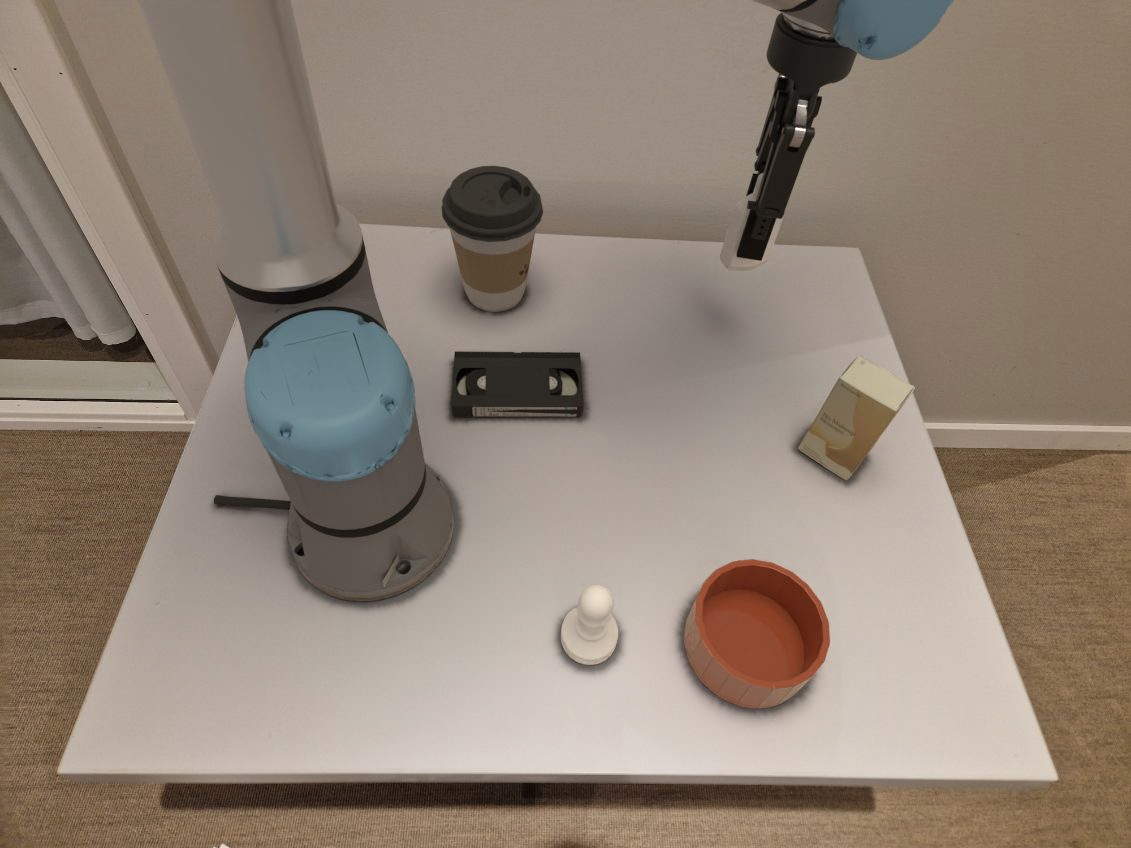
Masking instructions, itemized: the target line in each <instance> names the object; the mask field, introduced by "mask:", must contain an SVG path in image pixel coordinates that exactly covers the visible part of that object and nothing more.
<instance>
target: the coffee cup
mask: <svg viewBox="0 0 1131 848" xmlns="http://www.w3.org/2000/svg"><path fill="white" fill-rule="evenodd" d="M441 202H442V204H441V218H443V220H444V222H445V224H446V225H447V227H449V231H450V235H451V236H450V237H451V240H452V245H453V248H454V252H455V257H456V260H457V264H458V269H459V272H460V277H461V281H462V285H463V289H464V293H465V294H466V296H467V298H468V300H469V302H470V304H472V305H473V306H474V307H476V308H477V309H479V310H482V311H484V312H490V313H498V312H504V311H508V310H511V309H513V308H514V307H516V306H517V305H519V303H520V302H521V301H522V298H523V296H524V294H525V291H526V286H527V281H528V277H529V275H528V274H529V269H530V264H531V260H532V259H531V258H532V253H533V247H534V242H535V237H536V232H537V231H536V230H537V226H538V225H539V224H540V223H541V222H542V221H541V220H542V217H543V214H544V209H543V203H542V198H541V195H540V193H539V192H538V190H537V189H536V187H535V186H534V184H533V183H532V181H531V180H530V179H529V178H528V177H527V176H525V175H524V174H523V173H521V172H520V171H518V170H515V169H512V168H509V167H507V166H499V165H481V166H476V167H473V168H469V169H468V170H465V171H463V172H461V173H459V174H458V175H457V176H456V177H454V179H453V180H452V181H451V183H450V186H449V187H448V188H447V189H446V191H445V192H444V195H443V197H442V200H441Z"/></svg>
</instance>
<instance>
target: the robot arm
mask: <svg viewBox="0 0 1131 848" xmlns="http://www.w3.org/2000/svg"><path fill="white" fill-rule="evenodd" d="M137 1H138V4H139V6H140V10H141V12H142V15H143V17H144V19H145V23H146V25H147V28H148V30H149V34H150V35H151V38H152V41H153V43H154V46H155V49H156V51H157V54H158V57H159V60H160V62H161V64H162V67H163V70H164V73H165V75H166V78H167V80H168V83H169V86H170V88H171V91H172V94H173V96H174V99H175V102H176V105H177V107H178V110H179V112H180V115H181V117H182V120H183V123H184V125H185V128H186V130H187V133H188V136H189V139H190V142H191V144H192V146H193V149H194V152H195V154H196V157H197V159H198V162H199V164H200V167H201V170H202V174H203V175H204V178H205V180H206V183H207V185H208V189H209V192H210V193H211V194H210V195H211V196H212V200H213V202H214V205H215V208H216V209H217V212H218V215H219V217H220V220H221V223H222V226H221V227H220V229H219V231H218V232H217V234H216V236H215V238H214V241H213V245H212V255H213V258H214V262H215V264H216V267H217V269H218V272H219V274H220V277H221V280H222V281H223V284H224V286H225V289H226V291H227V295H228V297H229V299H230V301H231V304H232V306H233V308H234V311H235V313H236V317H237V319H238V323H239V326H240V330H241V333H242V338H243V343H244V347H245V352H246V358H247V365H246V369H245V374H244V381H243V382H244V383H243V387H244V396H245V404H246V410H247V415H248V419H249V422H250V424H251V428H252V429H253V431H254V433H255V435H256V436H257V437H258V439H259V441H260V443H261V445H262V447H263V448H264V449H265V450H266V452H267V454H268V457H269V458H270V461H271V463H272V465H273V467H274V469H275V471H276V473H277V476H278V478H279V480H280V481H281V484H282V486H283V489H284V490H285V492H286V494H287V497H288V498H289V500H286V499H285V500H283V499H272V498H271V499H270V498H260V497H259V498H258V497H241V496H228V495H220V494H216V495H215V496H214V497H213V504H215V505H219V506H226V507H240V508H242V507H243V508H258V509H269V510H282V511H289V514H288V519H287V527H286V535H287V543H288V548H289V550H290V553H291V556H292V557H293V560H294V562H295V564H296V566H297V568H298V569H299V570H300V572H301V574H302V575H303V577H305V580H307V581H308V582H309V583H310V584H311V585H312V586H314V587H315V588H316V589H318V590H320V591H321V592H323V593H325V594H327V595H329V596H330V597H334V598H337V599H340V600H345V601H350V602H351V601H352V602H373V601H380V600H384V599H385V600H386V599H389V598H392V597H395V596H398V595H400V594H403V593H405V592H406V591H409V590H410V589H413V588H414V587H416V586H417V585H419V584H420V583H421V582H423V581H424V580H425V579H427V578H428V576H430V575H431V574H432V573H433V572H434V571H435V569H437V568H438V566H439V564H440V563H441V562H442V561H443V559H444V557H446V554H447V552H448V550H449V548H450V545H451V542H452V539H453V534H454V524H455V523H454V522H455V520H454V510H453V504H452V498H451V496H450V492H449V490H448V488H447V486H446V484H445V483H444V480H443V479H442V478H441V477H440V476H439V475H438V473H437V472H436V471H434V470H433V469H432V468H431V467H430V465H428V464H427V463H426V461H425V454H424V450H423V449H424V448H423V443H422V437H421V433H420V427H419V423H418V422H419V421H418V416H417V411H416V396H415V392H416V390H415V384H414V379H413V375H412V372H411V370H410V367H409V364H408V362H407V360H406V358H405V357H404V353H403V352H402V350H401V348H400V347H399V345H398V344H397V342H396V341H395V339H394V338H393V337H392V336H391V335H390V333H389V331H388V328H387V325H386V323H385V320H384V317H383V314H382V311H381V308H380V306H379V304H378V303H379V302H378V300H377V296H376V292H375V289H374V284H373V280H372V276H371V270H370V265H369V259H368V255H367V250H366V245H365V239H364V236H363V231H362V228H361V225H360V223H359V221H358V220H357V218H356V217H355V216H354V215H353V213H351V212H350V211H349V210H347V209H346V208H345V207H343V206H341V205H339V204H338V203H337V199H336V195H335V192H334V187H333V181H332V179H331V178H332V177H331V173H330V170H329V165H328V161H327V155H326V152H325V151H326V150H325V146H324V141H323V138H322V134H321V133H322V132H321V129H320V125H319V124H320V123H319V120H318V116H317V111H316V107H315V102H314V98H313V94H312V93H313V92H312V89H311V84H310V80H309V76H308V75H309V74H308V71H307V67H306V63H305V57H304V53H303V50H302V44H301V39H300V36H299V31H298V27H297V23H296V18H295V14H294V9H293V5H292V0H137ZM751 1H752V2H753V3H754V2H755V3H757V4H760V5H764V6H766V7H769V8H772V9H773V10H776V11H778V12H780V13H779V14H778V15H777V16H776V17H775V21H774V23H773V24H774V25H773V29H772V31H771V35H770V39H769V43H768V46H767V50H766V60H767V63H768V64H769V66H770V67H771V68H772V70H773V71H775V72H776V73H777V74H778V76H777V77H776V80H775V82H774V86H773V94H772V97H771V100H770V101H771V102H770V104H769V107H768V111H767V114H766V117H765V121H764V124H763V128H762V130H761V134H760V138H759V140H758V144H757V147H756V148H755V156H756V157H757V158H756V160H755V161H754V165H753V167H754V172H756V173H754V172H753V173H752V175H751V178H750V181H749V185H748V188H747V191H746V194H745V197H746V196H748V195H750V194H752V193H753V191H754V188H755V185H756V182H757V179H758V176H759V175H760V174H761V173H763V177H762V180H761V184H760V188H759V191H758V195H757V199H756V201H749V200H748V204H747V209H750V212H749V215H748V218H747V222H746V225H745V228H744V231H743V234H742V237H741V241H740V244H739V247H738V250H737V257H739V258H746V259H752V260H758V261H762V258H763V255H764V252H765V250H766V247H767V244H768V241H769V238H770V235H771V233H772V230H773V227H774V224H775V221H776V218H778V219H782V217H783V216H784V217H785V214H786V211H785V209H786V210H787V207H788V203H789V200H790V198H791V195H792V192H793V190H794V187H795V184H796V181H797V178H798V176H799V172H800V170H801V168H802V165H803V161H804V160H805V157H806V153H807V152H808V150H809V147H810V145H811V143H812V142H813V139H814V138H815V135H816V129H815V127H812V125H813V123H814V120H815V118H816V117H818V115H819V112H820V109H821V105H822V102H823V96H820V95H819V93H820V90H821V88H823V87H824V86H827V85H830V84H836V83H839V82H840V81H842V80H844V79H846V78H847V77H848V76H849V74H850V73H851V71H852V69H853V65H854V63H855V61H856V58H857V55H860V56H862V57H863V58H865V59H867V60H872V61H883V60H885V61H886V60H889V59H893V58H895V57H898V56H902V54H905V53H906V52H908V51H910V50H912V49H913V48H914V47H916V46H918V45H919V44H920V43H922V41H923V40H925V39H926V38H927V37H928V36H929V35H930V34H931V32H932V31H934V30H935V28H936V27H937V26H938V25H939V24H940V22H941V19H942V18H943V16H944V15H945V14H946V13H947V10H948V9H949V7H951V5H953V3H954V1H955V0H751ZM784 213H785V214H784ZM784 217H783V218H784Z"/></svg>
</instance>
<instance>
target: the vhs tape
mask: <svg viewBox="0 0 1131 848" xmlns="http://www.w3.org/2000/svg"><path fill="white" fill-rule="evenodd" d="M581 359H582V357H581V352H580V351H579V352H577V351H521V352H515V351H464V350H463V351H462V350H461V351H459V350H458V351H454V353H453V366H452V367H453V368H452V369H453V370H452V382H451V383H452V384H451V396H450V397H451V398H450V406H451V415H452V417H454V418H582V416H583V415H584V405H585V403H584V389H583V387H584V386H583V374H582V373H583V372H582V360H581Z"/></svg>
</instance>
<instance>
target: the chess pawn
mask: <svg viewBox="0 0 1131 848" xmlns="http://www.w3.org/2000/svg"><path fill="white" fill-rule="evenodd" d="M614 602H615V600H614V596H613V594H612V592H611V590H609V589H608V588H607V587H606V586H604V585H602V584H591V585H589V586H586V587H585V588H583V590H582V591H581V592H580V595H579V598H578V604H577V606H576V607H574V608H573V609H571V610H570V611H569V612H568V613H567V614H566V616H565V617H564V619H563V621H562V624H561V629H560V641H561V646H562V648H563V650H564V652H565V653H566V655H568V657H569V658H570V659H572V660H573V661H574V662H576V663H579V664H581V665H585V666H586V665H587V666H594V665H598V664H601V663H603V662H605V661H607V660H608V659H609V658H610V657H611V656H612V654H613V653H614V652H615V650H616V646H617V643H618V640H619V627H618V623H617V621H616V619H615V618H614V616H613V614H612V613H613V612H612V611H613V609H614V604H615V603H614Z"/></svg>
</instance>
